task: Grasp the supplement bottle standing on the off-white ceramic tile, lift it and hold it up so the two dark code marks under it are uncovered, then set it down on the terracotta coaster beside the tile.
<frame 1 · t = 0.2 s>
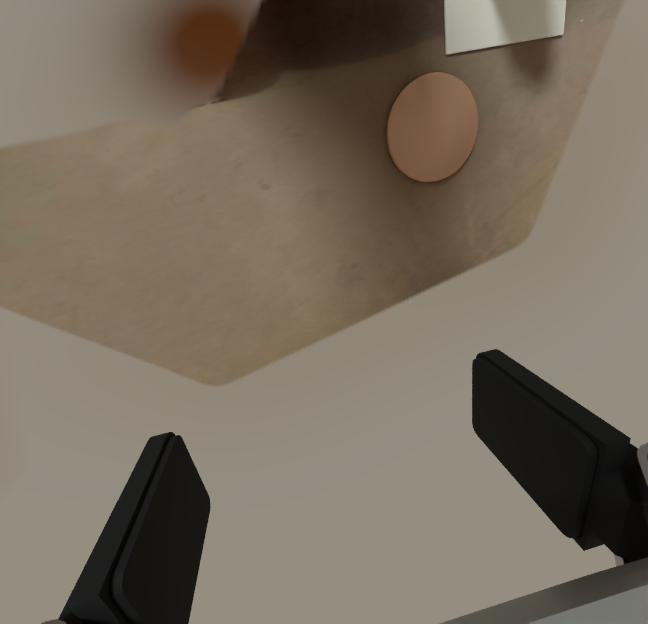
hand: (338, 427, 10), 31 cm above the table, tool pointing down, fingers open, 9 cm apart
coaster: (431, 130, 36), on the table
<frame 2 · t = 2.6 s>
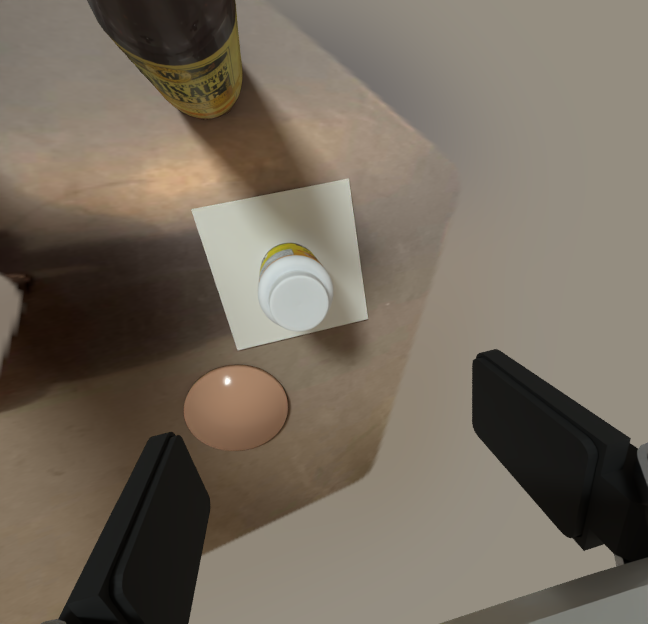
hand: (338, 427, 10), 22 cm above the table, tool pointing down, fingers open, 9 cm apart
code tile: (289, 269, 30), on the table
coaster: (237, 408, 34), on the table
supplement bottle: (289, 269, 30), resting on code tile
sauce bottle: (205, 77, 24), on the table
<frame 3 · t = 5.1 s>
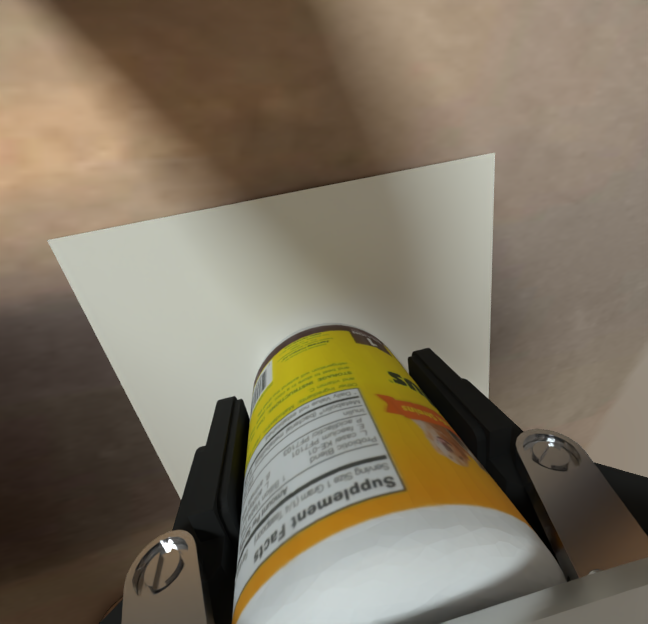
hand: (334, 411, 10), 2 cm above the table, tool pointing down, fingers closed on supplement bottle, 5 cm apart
code tile: (324, 378, 12), on the table
supplement bottle: (324, 378, 12), resting on code tile, touching gripper
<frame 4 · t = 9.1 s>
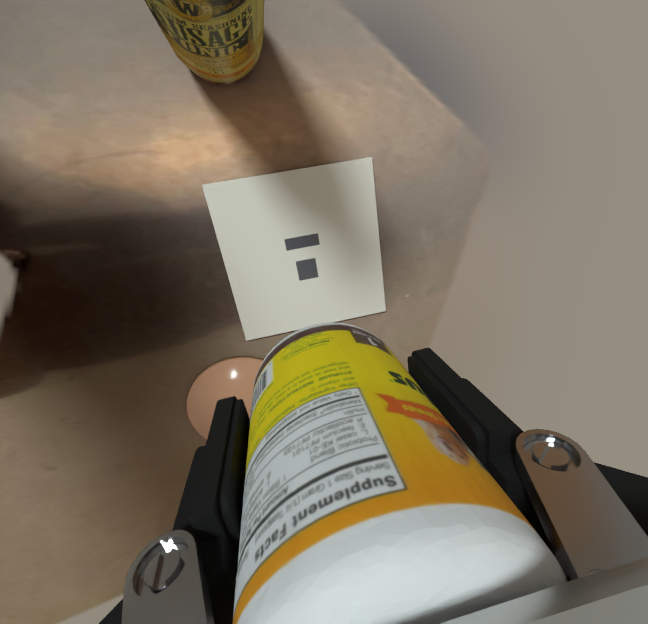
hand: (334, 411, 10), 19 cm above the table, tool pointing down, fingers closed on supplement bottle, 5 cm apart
code tile: (304, 254, 28), on the table
coaster: (244, 403, 32), on the table
supplement bottle: (324, 378, 12), point 17 cm above the table, touching gripper
sauce bottle: (221, 40, 22), on the table
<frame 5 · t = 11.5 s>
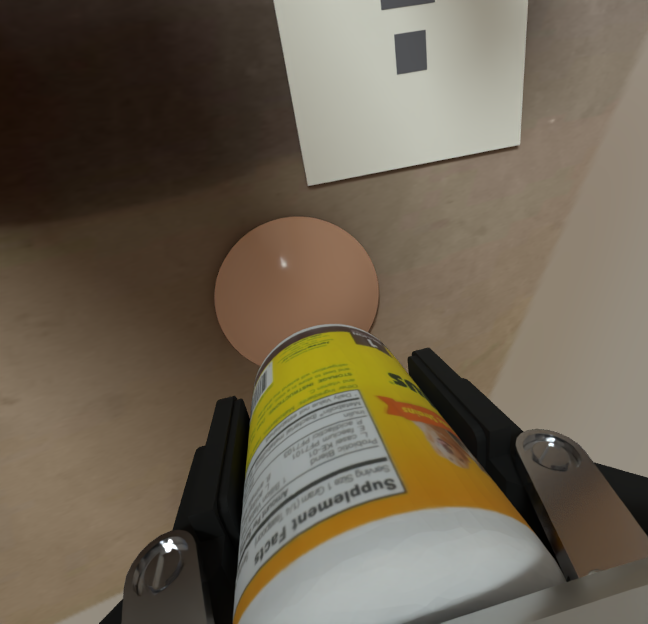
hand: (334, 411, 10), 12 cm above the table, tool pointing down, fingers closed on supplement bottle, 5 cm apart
code tile: (407, 24, 17), on the table
coaster: (299, 299, 21), on the table
supplement bottle: (324, 379, 12), point 10 cm above the table, touching gripper
when the fingers open (4 cm above the table, at t = 13.3 s): supplement bottle drops 1 cm, resting on coaster.
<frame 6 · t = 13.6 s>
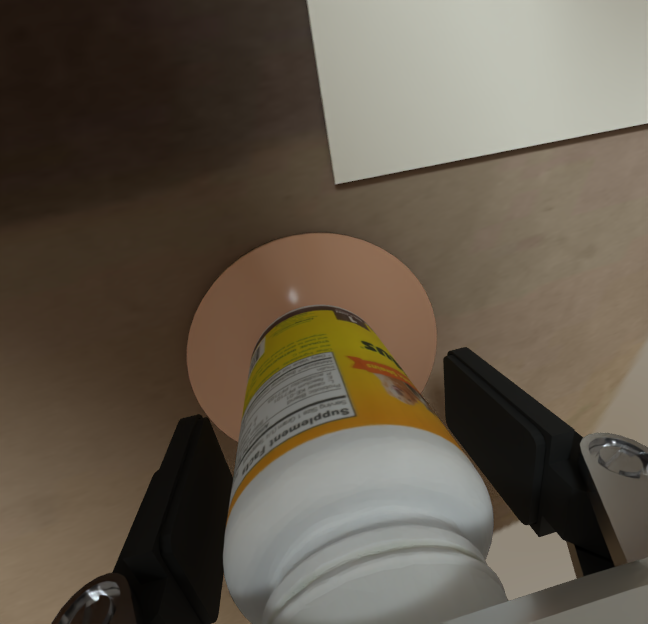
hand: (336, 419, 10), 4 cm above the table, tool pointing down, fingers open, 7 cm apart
coaster: (317, 355, 14), on the table
supplement bottle: (315, 356, 14), resting on coaster
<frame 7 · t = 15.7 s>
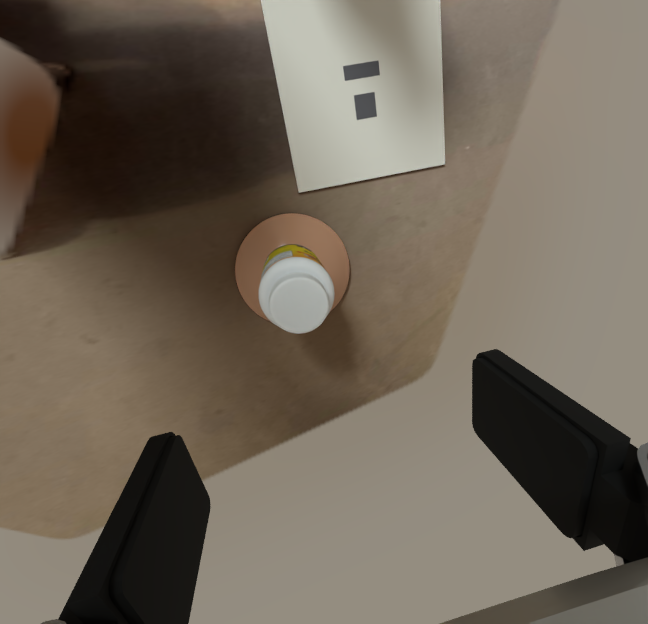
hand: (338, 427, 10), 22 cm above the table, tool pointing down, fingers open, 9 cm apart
code tile: (362, 88, 26), on the table
coaster: (293, 271, 30), on the table
supplement bottle: (292, 271, 30), resting on coaster
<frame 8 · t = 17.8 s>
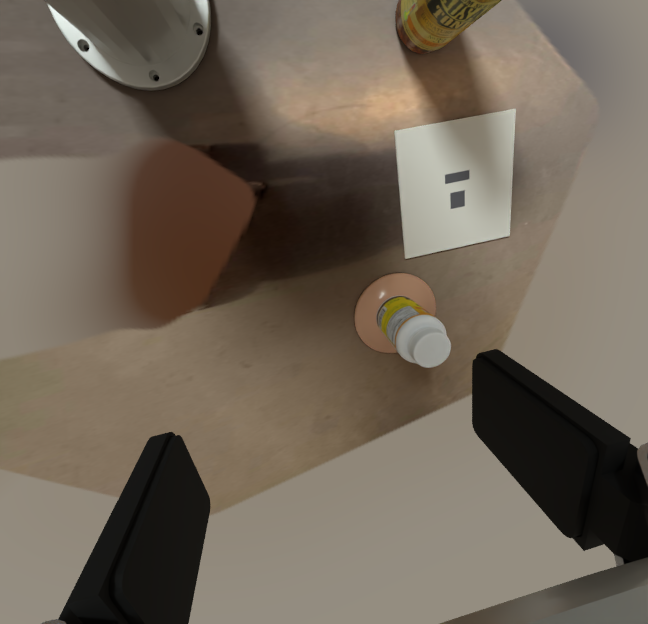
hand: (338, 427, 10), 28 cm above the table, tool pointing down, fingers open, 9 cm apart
code tile: (456, 188, 36), on the table
coaster: (394, 313, 41), on the table
supplement bottle: (394, 313, 40), resting on coaster
sauce bottle: (423, 20, 30), on the table
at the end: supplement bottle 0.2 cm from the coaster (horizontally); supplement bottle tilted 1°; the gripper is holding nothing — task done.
